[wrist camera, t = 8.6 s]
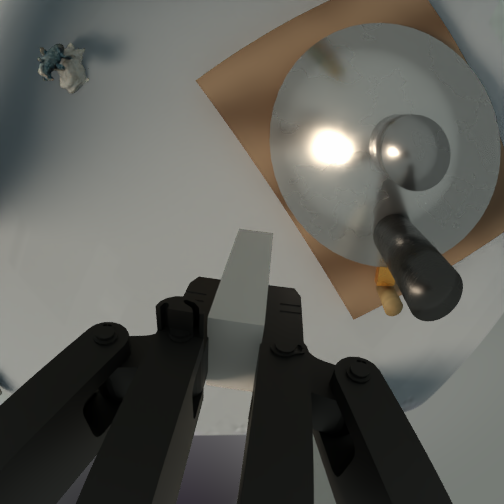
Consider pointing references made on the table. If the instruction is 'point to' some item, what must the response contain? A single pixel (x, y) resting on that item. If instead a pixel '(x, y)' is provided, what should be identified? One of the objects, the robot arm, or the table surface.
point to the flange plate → (345, 124)
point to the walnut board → (260, 113)
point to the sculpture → (63, 66)
